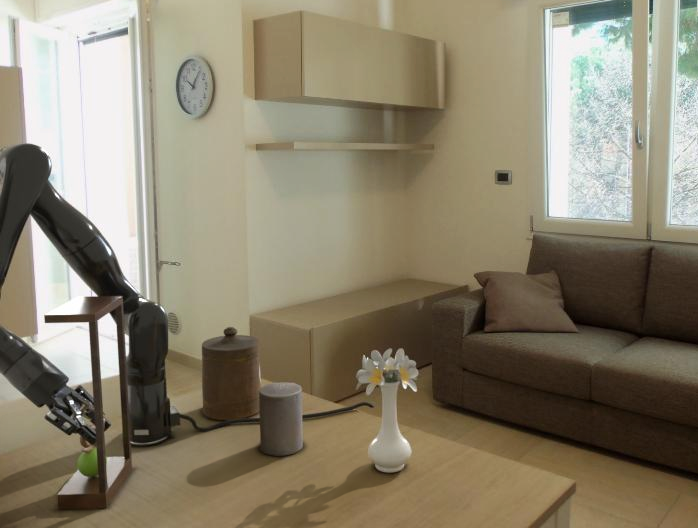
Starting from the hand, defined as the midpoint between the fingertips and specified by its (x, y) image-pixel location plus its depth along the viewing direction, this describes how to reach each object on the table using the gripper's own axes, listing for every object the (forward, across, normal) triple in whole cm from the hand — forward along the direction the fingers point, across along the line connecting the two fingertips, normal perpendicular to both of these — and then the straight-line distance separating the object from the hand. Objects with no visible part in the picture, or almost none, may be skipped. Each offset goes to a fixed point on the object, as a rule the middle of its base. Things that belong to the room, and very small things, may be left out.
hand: (102, 434), depth 136 cm
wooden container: (+21, +41, -5) cm, 46 cm away
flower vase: (+49, +6, -32) cm, 59 cm away
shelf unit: (+7, 0, +9) cm, 11 cm away
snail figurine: (+5, 0, +7) cm, 9 cm away
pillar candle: (+32, +17, -16) cm, 39 cm away
